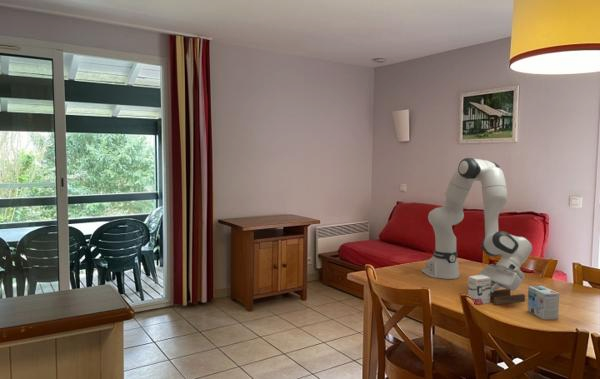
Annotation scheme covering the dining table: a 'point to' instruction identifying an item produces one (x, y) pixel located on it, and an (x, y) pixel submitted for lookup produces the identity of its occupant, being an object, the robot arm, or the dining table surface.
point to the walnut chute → (506, 297)
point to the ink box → (479, 289)
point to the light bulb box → (543, 302)
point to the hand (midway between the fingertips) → (489, 291)
